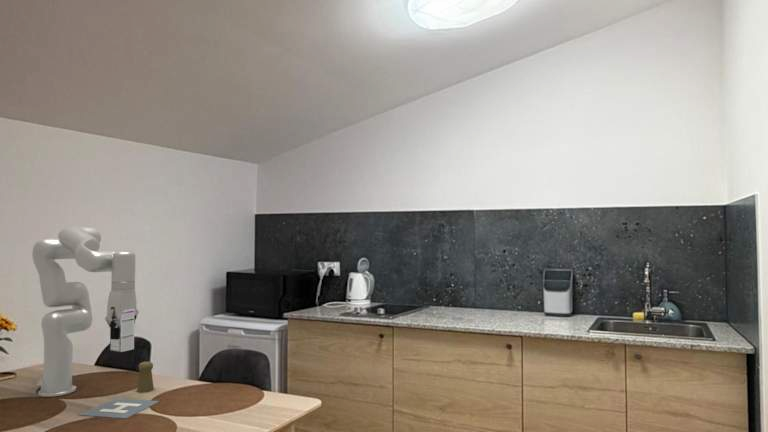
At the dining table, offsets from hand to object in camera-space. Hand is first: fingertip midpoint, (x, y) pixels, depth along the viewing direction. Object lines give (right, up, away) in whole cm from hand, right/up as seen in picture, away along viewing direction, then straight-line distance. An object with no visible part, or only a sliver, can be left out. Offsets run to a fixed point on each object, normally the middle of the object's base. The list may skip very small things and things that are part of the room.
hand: (122, 336), depth 183 cm
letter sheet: (0, -25, -1) cm, 25 cm away
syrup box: (0, -5, 0) cm, 5 cm away
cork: (-1, -26, +20) cm, 33 cm away
